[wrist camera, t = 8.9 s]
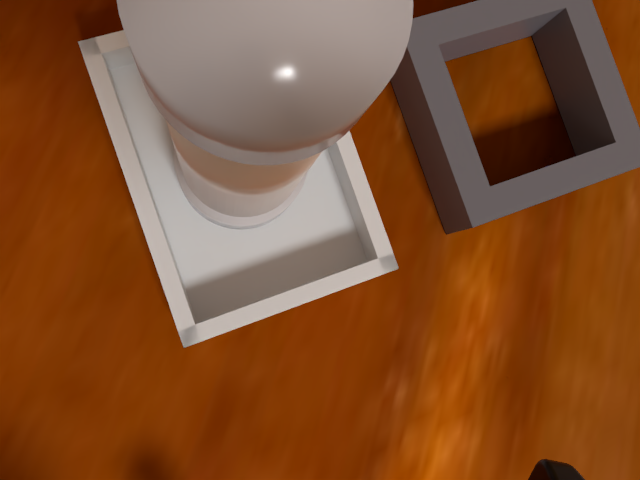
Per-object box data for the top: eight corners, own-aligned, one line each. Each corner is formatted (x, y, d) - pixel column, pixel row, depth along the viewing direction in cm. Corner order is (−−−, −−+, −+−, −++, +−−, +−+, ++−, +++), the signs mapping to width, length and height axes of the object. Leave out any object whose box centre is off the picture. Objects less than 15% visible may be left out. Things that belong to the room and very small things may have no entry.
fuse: (226, 254, 21) (238, 196, 9) (152, 153, 21) (50, -59, 8) (324, 183, 22) (468, 35, 9) (253, 86, 22) (300, -198, 9)
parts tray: (186, 342, 21) (183, 347, 19) (90, 64, 22) (77, 41, 20) (383, 270, 23) (398, 268, 21) (290, 11, 23) (297, -15, 21)
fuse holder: (446, 234, 23) (472, 227, 21) (379, 50, 24) (398, 22, 21) (609, 175, 25) (652, 162, 22) (545, 3, 25) (581, -29, 23)
